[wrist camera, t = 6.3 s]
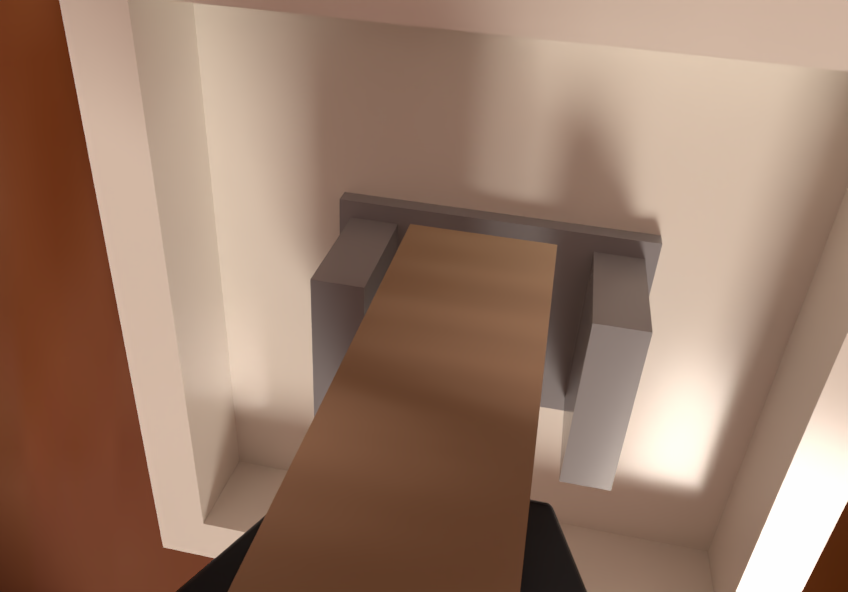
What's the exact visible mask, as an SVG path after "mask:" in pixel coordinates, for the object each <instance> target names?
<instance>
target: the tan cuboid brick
mask: <svg viewBox="0 0 848 592" xmlns="http://www.w3.org/2000/svg"><path fill="white" fill-rule="evenodd" d="M556 252H557V245H555V244H548V243H541V242H534V241H527V240H520V239H513V238H506V237H499V236H492V235H485V234H477V233H470V232H463V231H456V230H449V229H442V228H435V227H428V226H421V225H414V224H410V225H409V227H408V229H407V231H406V234H405V236H404V238H403V240H402V242H401V244H400V246H399V248H398V250H397V252H396V254H395V256H394V258H393V260H392V262H391V264H390V266H389V268H388V270H387V272H386V274H385V276H384V278H383V280H382V282H381V284H380V286H379V288H378V290H377V292H376V294H375V296H374V298H373V300H372V302H371V304H370V306H369V308H368V310H367V312H366V314H365V316H364V318H363V320H362V322H361V324H360V326H359V328H358V330H357V332H356V334H355V336H354V338H353V340H352V342H351V344H350V346H349V348H348V350H347V352H346V354H345V356H344V358H343V360H342V362H341V364H340V366H339V368H338V370H337V372H336V374H335V376H334V378H333V381H332V383H331V385H330V387H329V389H328V391H327V393H326V395H325V397H324V399H323V401H322V403H321V405H320V407H319V409H318V411H317V413H316V415H315V417H314V419H313V421H312V423H311V425H310V427H309V429H308V431H307V433H306V435H305V437H304V439H303V441H302V443H301V445H300V447H299V449H298V451H297V453H296V455H295V457H294V459H293V461H292V463H291V465H290V467H289V469H288V471H287V473H286V475H285V477H284V479H283V481H282V483H281V485H280V487H279V489H278V491H277V493H276V495H275V497H274V499H273V501H272V503H271V505H270V507H269V509H268V511H267V513H266V515H265V517H264V519H263V521H262V523H261V525H260V527H259V530H258V532H257V534H256V536H255V538H254V540H253V542H252V544H251V546H250V548H249V550H248V552H247V554H246V556H245V558H244V560H243V562H242V564H241V566H240V568H239V570H238V572H237V574H236V576H235V578H234V580H233V582H232V584H231V586H230V588H229V590H228V592H520V588H521V579H522V569H523V560H524V551H525V541H526V532H527V523H528V513H529V504H530V495H531V485H532V476H533V467H534V457H535V448H536V439H537V429H538V420H539V411H540V401H541V392H542V383H543V373H544V364H545V355H546V345H547V336H548V327H549V317H550V308H551V299H552V289H553V280H554V271H555V261H556Z"/></svg>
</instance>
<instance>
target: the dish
mask: <svg viewBox="0 0 848 592" xmlns="http://www.w3.org/2000/svg"><path fill="white" fill-rule="evenodd" d="M59 2H60V7H61V12H62V18H63V23H64V28H65V33H66V39H67V44H68V49H69V54H70V60H71V65H72V70H73V76H74V81H75V86H76V91H77V97H78V102H79V107H80V112H81V118H82V123H83V128H84V133H85V139H86V144H87V149H88V154H89V160H90V165H91V170H92V175H93V181H94V186H95V191H96V196H97V202H98V207H99V212H100V217H101V223H102V228H103V233H104V238H105V244H106V249H107V254H108V259H109V265H110V270H111V275H112V281H113V286H114V291H115V296H116V302H117V307H118V312H119V317H120V323H121V328H122V333H123V338H124V344H125V349H126V354H127V359H128V365H129V370H130V375H131V380H132V386H133V391H134V396H135V401H136V407H137V412H138V417H139V422H140V428H141V433H142V438H143V443H144V449H145V454H146V459H147V464H148V470H149V475H150V480H151V485H152V491H153V496H154V501H155V507H156V512H157V517H158V522H159V528H160V533H161V538H162V543H163V547H164V548H169V549H174V550H178V551H183V552H188V553H193V554H197V555H202V556H207V557H211V558H216V557H217V556H218V555H219V554H221V553H222V552H223V551H224V550H225V549H226V548H228V547H229V546H230V545H231V544H232V543H233V542H235V541H236V540H237V539H238V538H239V537H240V536H242V535H243V534H244V533H245V532H246V531H247V530H249V529H250V528H251V527H252V526H253V525H254V524H256V523H257V522H258V521H259V520H260V519H261V518H263V517H264V516H265V515H266V513H267V511H268V509H269V507H270V505H271V503H272V501H273V499H274V497H275V495H276V493H277V491H278V489H279V487H280V485H281V483H282V481H283V479H284V477H285V475H286V473H287V471H288V469H289V467H290V465H291V463H292V461H293V459H294V457H295V455H296V453H297V451H298V449H299V447H300V445H301V443H302V441H303V439H304V437H305V435H306V433H307V431H308V429H309V427H310V425H311V423H312V421H313V419H314V417H315V415H316V413H317V411H318V409H319V407H320V405H321V403H322V401H323V399H324V397H325V395H326V393H327V391H328V389H329V387H330V385H331V383H332V381H333V378H334V376H335V374H336V372H337V370H338V368H339V366H340V364H341V362H342V360H343V358H344V356H345V354H346V352H347V350H348V348H349V346H350V344H351V342H352V340H353V338H354V336H355V334H356V332H357V330H358V328H359V326H360V324H361V322H362V320H363V318H364V316H365V314H366V312H367V310H368V308H369V306H370V304H371V302H372V300H373V298H374V296H375V294H376V292H377V290H378V288H379V286H380V284H381V282H382V280H383V278H384V276H385V274H386V272H387V270H388V268H389V266H390V264H391V262H392V260H393V258H394V256H395V254H396V252H397V250H398V248H399V246H400V244H401V242H402V240H403V238H404V236H405V234H406V231H407V229H408V227H409V225H410V224H414V225H421V226H428V227H435V228H442V229H449V230H456V231H463V232H470V233H477V234H485V235H492V236H499V237H506V238H513V239H520V240H527V241H534V242H541V243H548V244H555V245H557V252H556V261H555V271H554V280H553V289H552V299H551V308H550V317H549V327H548V336H547V345H546V355H545V364H544V373H543V383H542V392H541V401H540V411H539V420H538V429H537V439H536V448H535V457H534V467H533V476H532V485H531V495H530V499H531V500H536V501H541V502H546V503H549V504H550V505H551V506H552V507H553V509H554V511H555V513H556V516H557V518H558V521H559V523H560V526H561V528H562V531H563V533H564V536H565V538H566V541H567V543H568V546H569V548H570V551H571V553H572V556H573V558H574V560H575V563H576V565H577V568H578V570H579V573H580V575H581V578H582V580H583V583H584V585H585V588H586V590H587V592H802V590H803V588H804V586H805V584H806V582H807V580H808V578H809V576H810V575H811V573H812V571H813V569H814V567H815V565H816V563H817V561H818V559H819V557H820V555H821V553H822V551H823V549H824V547H825V545H826V543H827V541H828V539H829V537H830V535H831V533H832V531H833V529H834V527H835V525H836V523H837V521H838V519H839V517H840V515H841V513H842V511H843V509H844V507H845V505H846V503H847V501H848V0H59Z"/></svg>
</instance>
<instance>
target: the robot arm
mask: <svg viewBox="0 0 848 592" xmlns="http://www.w3.org/2000/svg"><path fill="white" fill-rule="evenodd" d="M264 517H265V516H264ZM264 517H263V518H261V519H260V520H259V521H258V522H257V523H256V524H254V525H253V526H252V527H251V528H250V529H249V530H247V531H246V532H245V533H244V534H243V535H242V536H240V537H239V538H238V539H237V540H236V541H235V542H233V543H232V544H231V545H230V546H229V547H228V548H226V549H225V550H224V551H223V552H222V553H221V554H219V555H218V556H217V557H216V558H215V559H214V560H212V561H211V562H210V563H209V564H208V565H207V566H205V567H204V568H203V569H202V570H201V571H200V572H198V573H197V574H196V575H195V576H194V577H192V578H191V579H190V580H189V581H188V582H187V583H185V584H184V585H183V586H182V587H181V588H180V589H178V590H177V591H176V592H228V590H229V588H230V586H231V584H232V582H233V580H234V578H235V576H236V574H237V572H238V570H239V568H240V566H241V564H242V562H243V560H244V558H245V556H246V554H247V552H248V550H249V548H250V546H251V544H252V542H253V540H254V538H255V536H256V534H257V532H258V530H259V527H260V525H261V523H262V521H263V519H264ZM520 592H587V590H586V588H585V585H584V583H583V580H582V578H581V575H580V573H579V570H578V568H577V565H576V563H575V560H574V558H573V556H572V553H571V551H570V548H569V546H568V543H567V541H566V538H565V536H564V533H563V531H562V528H561V526H560V523H559V521H558V518H557V516H556V513H555V511H554V509H553V507H552V506H551V505H550V504H549V503H546V502H541V501H536V500H531V499H530V504H529V513H528V523H527V532H526V541H525V551H524V560H523V569H522V579H521V588H520Z"/></svg>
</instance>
